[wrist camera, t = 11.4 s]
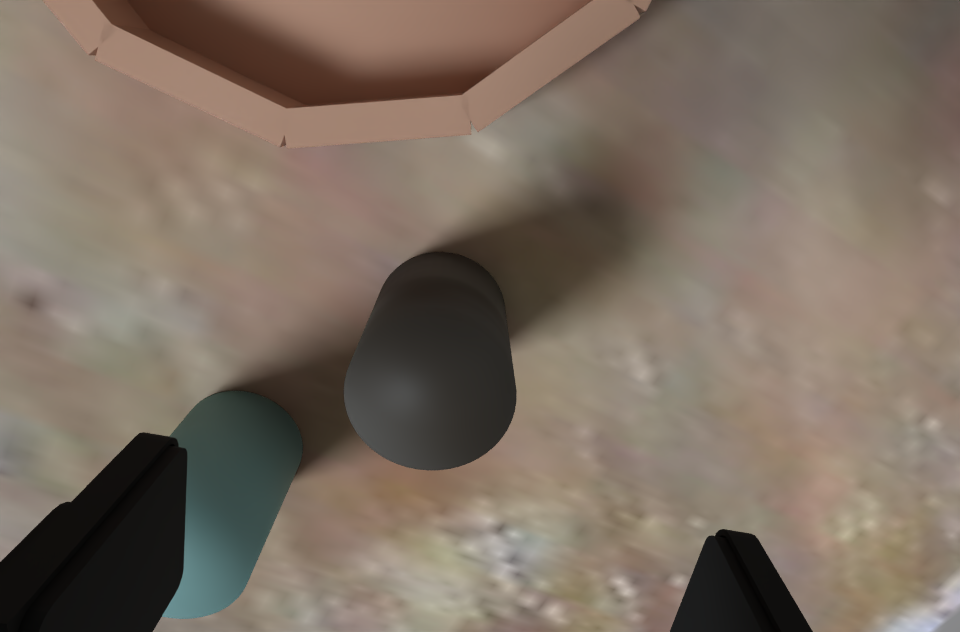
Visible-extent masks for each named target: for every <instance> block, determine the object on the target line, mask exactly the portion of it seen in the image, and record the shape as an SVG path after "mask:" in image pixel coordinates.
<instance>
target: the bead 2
mask: <svg viewBox="0 0 960 632" xmlns="http://www.w3.org/2000/svg"><path fill="white" fill-rule="evenodd" d="M344 401H345V407H346V411H347V414H348V417H349V419H350V422H351V424H352V425H353V427H354V429H355V431H356V432H357V434H358V435H359V436H360V438H361V439H362V440H363V441H364V442H365V443H366V444H367V445H368V446H369V447H370V448H371V449H373V450H374V451H375V452H376V453H378V454H379V455H381V456H382V457H384V458H386V459H387V460H390V461H392V462H394V463H396V464H399V465H402V466H405V467H409V468H414V469H420V470H444V469H451V468H455V467H459V466H462V465H465V464H467V463H470V462H472V461H474V460H476V459H478V458H480V457H481V456H482V455H484V454H485V453H487V452H488V451H489V450H490V449H492V448H493V447H494V446H495V445H496V444H497V443H498V442H499V440H500V439H501V438H502V437H503V435H504V434H505V432H506V431H507V429H508V427H509V425H510V423H511V421H512V418H513V415H514V412H515V406H516V385H515V377H514V370H513V363H512V356H511V348H510V341H509V334H508V327H507V320H506V312H505V305H504V300H503V296H502V293H501V291H500V289H499V286H498V285H497V283H496V281H495V280H494V279H493V277H492V276H491V275H490V274H489V273H488V272H487V271H486V270H485V269H484V268H483V267H482V266H480V265H479V264H478V263H476V262H474V261H473V260H471V259H469V258H466V257H464V256H461V255H457V254H453V253H446V252H433V253H426V254H423V255H419V256H416V257H414V258H411V259H409V260H408V261H406V262H404V263H403V264H401V265H400V266H399V267H397V268H396V269H395V270H394V271H393V272H392V273H391V274H390V276H389V277H388V278H387V280H386V281H385V283H384V285H383V287H382V289H381V291H380V294H379V296H378V298H377V301H376V303H375V306H374V308H373V310H372V313H371V315H370V317H369V320H368V322H367V324H366V327H365V329H364V331H363V334H362V336H361V339H360V341H359V343H358V346H357V348H356V350H355V353H354V355H353V357H352V360H351V362H350V365H349V367H348V370H347V373H346V377H345V382H344Z"/></svg>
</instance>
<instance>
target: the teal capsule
mask: <svg viewBox="0 0 960 632" xmlns="http://www.w3.org/2000/svg"><path fill="white" fill-rule="evenodd" d="M169 437H174V438H176V439H177V441H178V444H179V447H181V448H185V449H186V450H187V456H188V457H187V486H186V515H185V544H184V569H183V575H182V579H181V582H180V585H179V588H178V590H177V592H176V594H175V595H174V597H173V599H172V600H171V602H170V603H169V605H168V607H167V608H166V610H165V612H164V613H163V615H162V617H168V618H179V619H188V618H198V617H203V616H207V615H211V614H213V613H216V612H218V611H220V610H222V609H224V608H226V607H227V606H229V605H230V604H232V603H233V602H234V601H235V600H236V599H237V598H238V597H239V596H240V594H241V593H242V592H243V590H244V588H245V586H246V584H247V582H248V580H249V578H250V575H251V573H252V571H253V569H254V566H255V564H256V562H257V560H258V557H259V555H260V553H261V551H262V548H263V546H264V544H265V542H266V539H267V537H268V535H269V532H270V530H271V528H272V526H273V523H274V521H275V519H276V517H277V514H278V512H279V510H280V508H281V505H282V503H283V501H284V499H285V496H286V494H287V492H288V489H289V487H290V485H291V483H292V480H293V478H294V476H295V474H296V471H297V469H298V467H299V465H300V462H301V459H302V453H303V444H302V438H301V435H300V431H299V429H298V427H297V425H296V423H295V422H294V420H293V419H292V418H291V416H290V415H289V414H288V413H287V412H286V411H285V410H284V409H283V408H282V407H280V406H279V405H278V404H276V403H275V402H273V401H271V400H270V399H268V398H266V397H263V396H261V395H258V394H255V393H250V392H245V391H226V392H220V393H217V394H214V395H211V396H209V397H207V398H205V399H203V400H202V401H200V402H199V403H198V404H197V405H196V406H195V407H194V408H193V409H192V410H191V411H190V412H189V414H188V415H187V416H186V417H185V418H184V420H183V421H182V422H181V423H180V424H179V426H178V427H177V428H176V429H175V430H174V432H173V433H172V434H171V435H170V436H169Z"/></svg>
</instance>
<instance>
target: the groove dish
mask: <svg viewBox="0 0 960 632" xmlns="http://www.w3.org/2000/svg"><path fill="white" fill-rule="evenodd" d="M651 1H652V0H43V2H44V3H45V4H46V5H47V6H48V8H49V9H50V10H51V11H52V12H53V14H54V15H55V16H56V17H57V18H58V20H59V21H60V22H61V23H62V24H63V26H64V27H65V28H66V29H67V30H68V32H69V33H70V34H71V35H72V36H73V37H74V39H75V40H76V41H77V42H78V43H79V45H80V46H81V47H82V48H83V49H84V51H85V52H86V53H87V54H88V55H96V58H95V61H97V62H100V63H102V64H104V65H106V66H108V67H110V68H112V69H114V70H117V71H119V72H121V73H123V74H125V75H127V76H129V77H132V78H134V79H136V80H138V81H140V82H142V83H144V84H146V85H149V86H151V87H153V88H155V89H157V90H159V91H161V92H163V93H166V94H168V95H170V96H172V97H174V98H176V99H178V100H180V101H183V102H185V103H187V104H189V105H191V106H193V107H195V108H197V109H200V110H202V111H204V112H206V113H208V114H210V115H212V116H214V117H217V118H219V119H221V120H223V121H225V122H227V123H229V124H231V125H234V126H236V127H238V128H240V129H242V130H244V131H246V132H248V133H251V134H253V135H255V136H257V137H259V138H261V139H263V140H265V141H268V142H270V143H272V144H274V145H276V146H278V147H282V146H285V145H286V146H287V149H289V148H302V147H315V146H329V145H342V144H355V143H368V142H381V141H394V140H407V139H421V138H434V137H447V136H460V135H471V123H472V124H473V126H474V127H475V129H476V130H477V132H479V131H480V130H482V129H483V128H485V127H486V126H487V125H489V124H490V123H492V122H493V121H495V120H496V119H497V118H499V117H500V116H502V115H503V114H504V113H506V112H507V111H509V110H510V109H512V108H513V107H514V106H516V105H517V104H519V103H520V102H522V101H523V100H524V99H526V98H527V97H529V96H530V95H531V94H533V93H534V92H536V91H537V90H539V89H540V88H541V87H543V86H544V85H546V84H547V83H548V82H550V81H551V80H553V79H554V78H556V77H557V76H558V75H560V74H561V73H563V72H564V71H565V70H567V69H568V68H570V67H571V66H573V65H574V64H575V63H577V62H578V61H580V60H581V59H582V58H584V57H585V56H587V55H588V54H590V53H591V52H592V51H594V50H595V49H597V48H598V47H600V46H601V45H602V44H604V43H605V42H607V41H608V40H609V39H611V38H612V37H614V36H615V35H617V34H618V33H619V32H621V31H622V30H624V29H625V28H626V27H628V26H629V25H631V24H632V23H634V22H635V21H636V20H638V19H639V18H641V17H640V15H639V14H640V13H643V12H645V11H646V10H647V8H648V7H649V5H650V3H651Z"/></svg>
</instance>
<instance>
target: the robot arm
mask: <svg viewBox="0 0 960 632" xmlns="http://www.w3.org/2000/svg"><path fill="white" fill-rule="evenodd" d="M187 457H188V456H187V450H186V449H185V448H181V447H179V444H178V441H177V439H176V438H174V437H168V436H162V435H156V434H150V433H144V432H143V433H139V434H138V435H137V436H136V437H135V438H134V439H133V440H132V441H131V442H130V443H129V444H128V445H127V446H126V447H125V448H124V449H123V450H122V451H121V452H120V453H119V454H118V455H117V456H116V457H115V458H114V459H113V460H112V461H111V462H110V463H109V464H108V465H107V466H106V467H105V468H104V469H103V470H102V471H101V472H100V473H99V474H98V475H97V476H96V477H95V478H94V479H93V480H92V481H91V482H90V483H89V484H88V485H87V487H86V488H85V489H84V490H83V491H82V492H81V493H80V494H79V495H78V496H77V497H76V498H75V499H74V500H73V501H72V502H65V503H62V504H60V505H59V506H57V507H56V508H55V509H54V510H52V511H51V512H50V513H49V514H48V515H47V516H46V517H45V518H44V519H43V520H42V521H41V522H40V523H39V524H38V525H37V526H36V527H35V528H34V529H33V530H32V531H31V532H30V533H29V534H28V535H27V536H26V537H25V538H24V539H23V540H22V541H21V542H20V543H19V544H18V545H17V546H16V547H15V548H14V549H13V550H12V551H11V552H10V553H9V554H8V555H7V556H6V557H5V558H4V559H3V560H2V561H1V562H0V632H153V630H154V628H155V627H156V625H157V623H158V622H159V620H160V618H161V617H162V615H163V613H164V612H165V610H166V608H167V607H168V605H169V603H170V602H171V600H172V599H173V597H174V595H175V594H176V592H177V590H178V588H179V585H180V582H181V579H182V575H183V569H184V544H185V515H186V486H187ZM670 632H813V631H812V630H811V628H810V626H809V625H808V623H807V621H806V619H805V618H804V616H803V614H802V613H801V611H800V609H799V608H798V606H797V604H796V603H795V601H794V599H793V598H792V596H791V594H790V592H789V591H788V589H787V587H786V586H785V584H784V582H783V581H782V579H781V577H780V576H779V574H778V572H777V570H776V569H775V567H774V565H773V564H772V562H771V560H770V559H769V557H768V555H767V554H766V552H765V550H764V549H763V547H762V545H761V543H760V542H759V540H758V539H757V538H756V536H755V535H753V534H749V533H743V532H737V531H731V530H725V529H722V530H719V531H718V532H717V533H716V535H715V536H709V537H708V538H707V539H706V541H705V543H704V545H703V548H702V551H701V553H700V556H699V558H698V561H697V563H696V566H695V569H694V571H693V574H692V576H691V579H690V581H689V584H688V586H687V589H686V592H685V594H684V597H683V599H682V602H681V604H680V607H679V610H678V612H677V615H676V617H675V620H674V622H673V625H672V627H671V630H670Z"/></svg>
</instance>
